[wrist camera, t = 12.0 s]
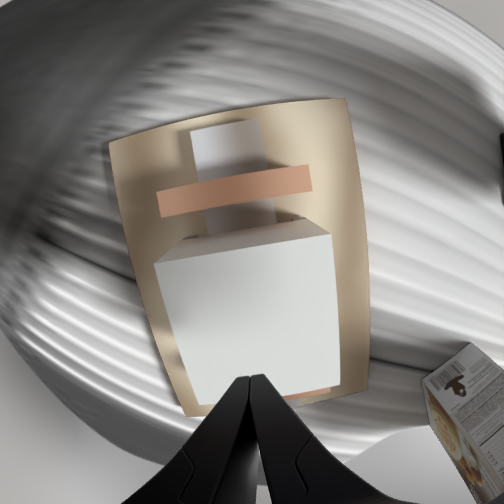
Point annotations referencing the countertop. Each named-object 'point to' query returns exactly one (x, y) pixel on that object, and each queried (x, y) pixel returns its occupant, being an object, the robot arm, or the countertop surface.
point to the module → (254, 307)
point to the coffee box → (470, 418)
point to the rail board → (248, 210)
